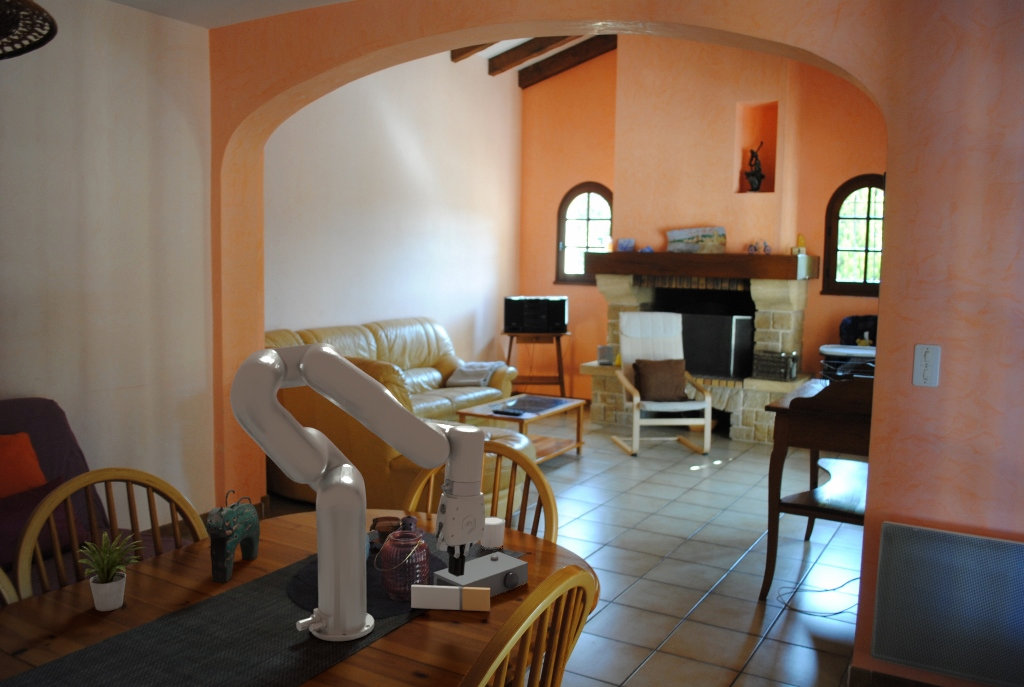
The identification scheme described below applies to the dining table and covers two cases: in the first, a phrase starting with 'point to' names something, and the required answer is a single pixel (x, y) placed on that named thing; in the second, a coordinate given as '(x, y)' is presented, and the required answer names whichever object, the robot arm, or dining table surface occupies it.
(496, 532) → the white cup
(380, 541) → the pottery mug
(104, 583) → the house plant
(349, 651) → the dining table surface
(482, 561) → the box
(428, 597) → the side door
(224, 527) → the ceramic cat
